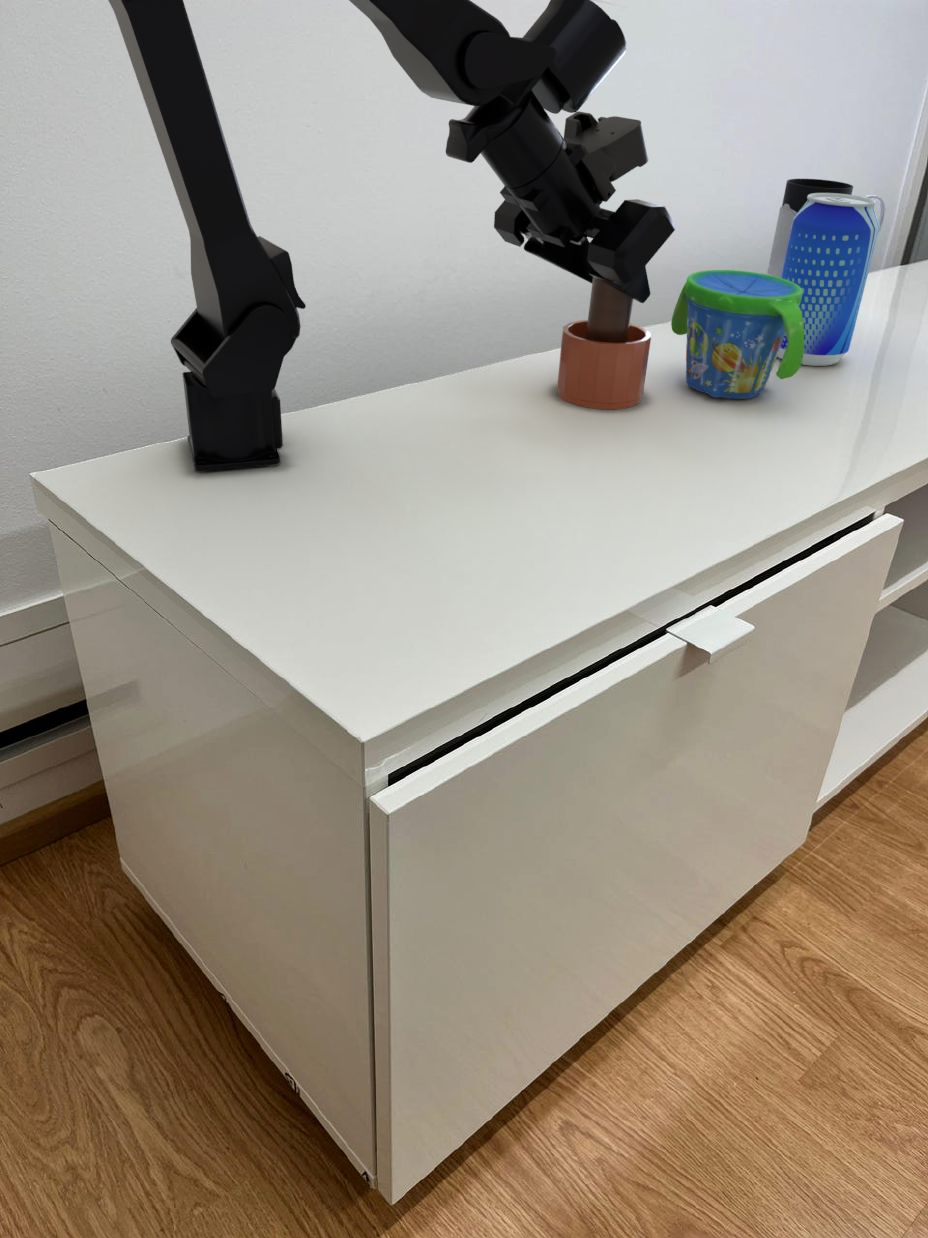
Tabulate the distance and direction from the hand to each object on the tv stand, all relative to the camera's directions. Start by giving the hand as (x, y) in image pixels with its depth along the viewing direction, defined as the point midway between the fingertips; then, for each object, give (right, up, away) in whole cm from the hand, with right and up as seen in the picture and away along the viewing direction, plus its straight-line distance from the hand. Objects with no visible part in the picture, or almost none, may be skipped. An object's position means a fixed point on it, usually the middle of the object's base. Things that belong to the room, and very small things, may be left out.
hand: (623, 290), depth 88 cm
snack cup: (+11, -7, +8) cm, 15 cm away
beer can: (+23, -1, +18) cm, 29 cm away
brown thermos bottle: (-2, -8, +4) cm, 9 cm away
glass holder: (+29, +9, +34) cm, 46 cm away
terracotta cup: (-2, -8, +4) cm, 10 cm away
